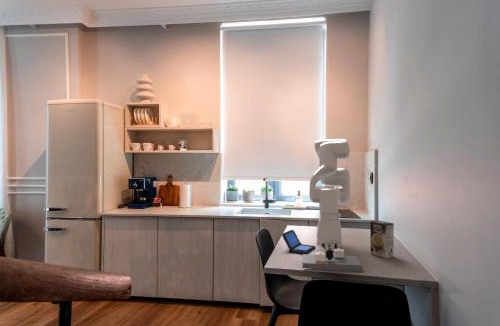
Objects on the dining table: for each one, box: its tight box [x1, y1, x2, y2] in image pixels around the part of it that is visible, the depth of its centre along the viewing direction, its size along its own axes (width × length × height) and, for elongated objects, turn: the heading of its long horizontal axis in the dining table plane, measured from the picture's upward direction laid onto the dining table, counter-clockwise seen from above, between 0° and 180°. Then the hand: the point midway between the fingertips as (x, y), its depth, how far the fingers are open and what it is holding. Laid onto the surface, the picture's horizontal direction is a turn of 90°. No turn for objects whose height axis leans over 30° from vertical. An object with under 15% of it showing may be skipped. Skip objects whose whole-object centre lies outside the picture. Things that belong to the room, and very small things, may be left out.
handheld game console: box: [281, 229, 316, 255], centre depth 174 cm, size 16×13×9 cm
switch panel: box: [302, 253, 362, 272], centre depth 147 cm, size 14×24×3 cm, turn 81°
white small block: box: [314, 250, 326, 262], centre depth 144 cm, size 3×4×4 cm
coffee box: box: [369, 220, 395, 259], centre depth 163 cm, size 9×6×16 cm
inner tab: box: [333, 247, 345, 258], centre depth 150 cm, size 3×4×4 cm
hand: (329, 259), depth 144 cm, fingers closed
